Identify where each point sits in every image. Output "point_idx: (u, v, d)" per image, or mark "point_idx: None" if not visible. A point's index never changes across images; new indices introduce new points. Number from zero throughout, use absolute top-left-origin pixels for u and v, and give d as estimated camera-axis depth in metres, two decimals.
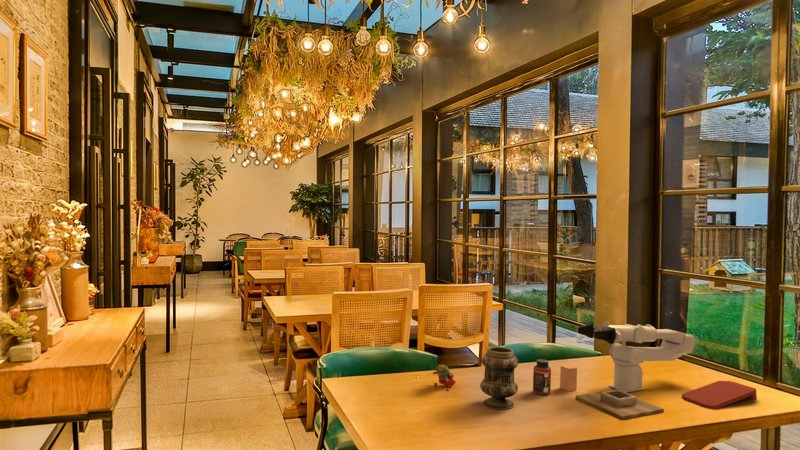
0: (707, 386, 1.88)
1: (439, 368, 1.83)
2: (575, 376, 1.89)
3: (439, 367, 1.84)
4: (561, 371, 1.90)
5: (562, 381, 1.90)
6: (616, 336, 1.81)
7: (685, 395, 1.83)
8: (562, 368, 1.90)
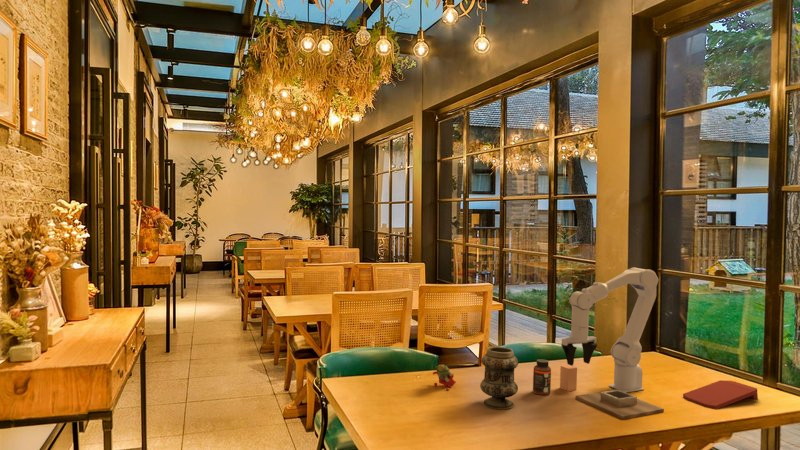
0: (708, 386, 1.88)
1: (439, 368, 1.83)
2: (575, 376, 1.89)
3: (439, 367, 1.84)
4: (561, 371, 1.90)
5: (562, 381, 1.90)
6: (565, 344, 1.86)
7: (686, 395, 1.83)
8: (562, 368, 1.90)
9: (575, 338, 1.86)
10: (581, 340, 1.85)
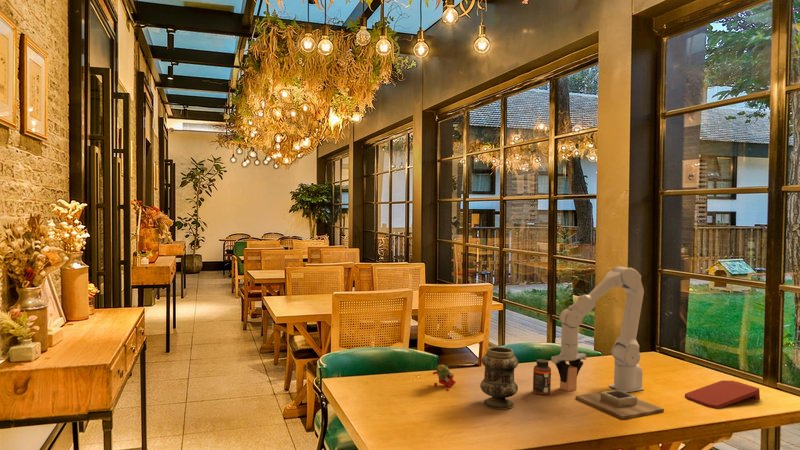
0: (710, 386, 1.88)
1: (439, 368, 1.83)
2: (575, 376, 1.89)
3: (439, 367, 1.84)
4: None
5: None
6: None
7: (688, 395, 1.83)
8: None
9: (565, 356, 1.88)
10: (570, 358, 1.87)
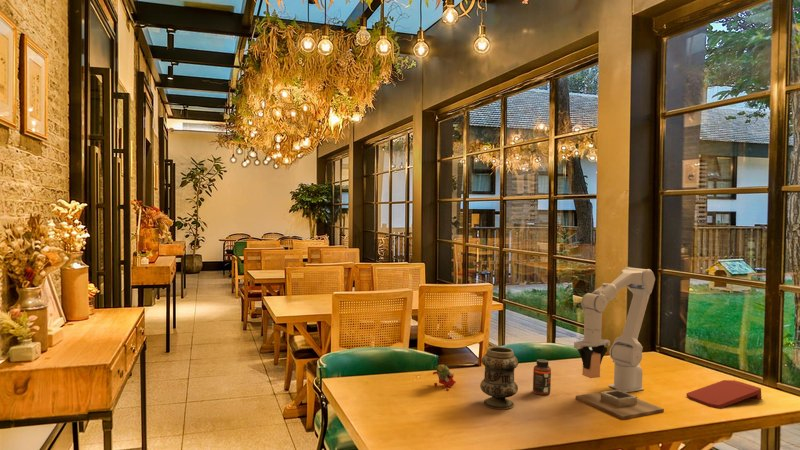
0: (712, 385, 1.89)
1: (439, 368, 1.83)
2: (598, 363, 1.81)
3: (439, 367, 1.84)
4: None
5: (584, 368, 1.83)
6: None
7: (690, 394, 1.84)
8: None
9: (588, 341, 1.80)
10: (594, 343, 1.79)
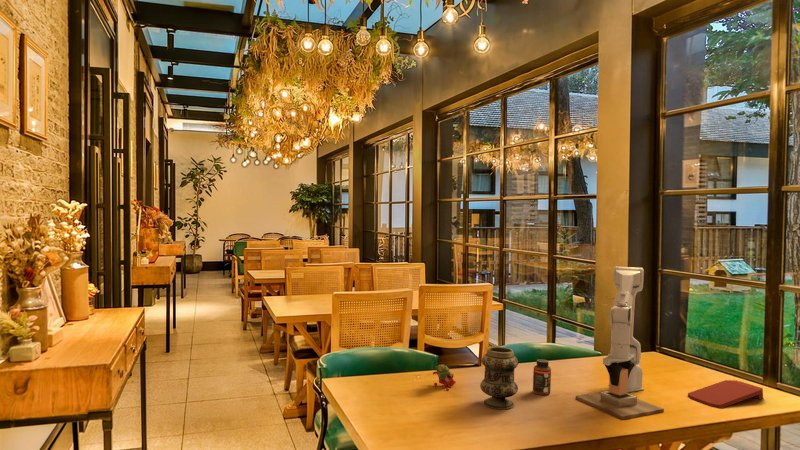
0: (713, 385, 1.89)
1: (439, 368, 1.83)
2: (626, 378, 1.74)
3: (439, 367, 1.84)
4: None
5: None
6: None
7: (691, 394, 1.84)
8: None
9: (617, 357, 1.72)
10: (623, 359, 1.71)
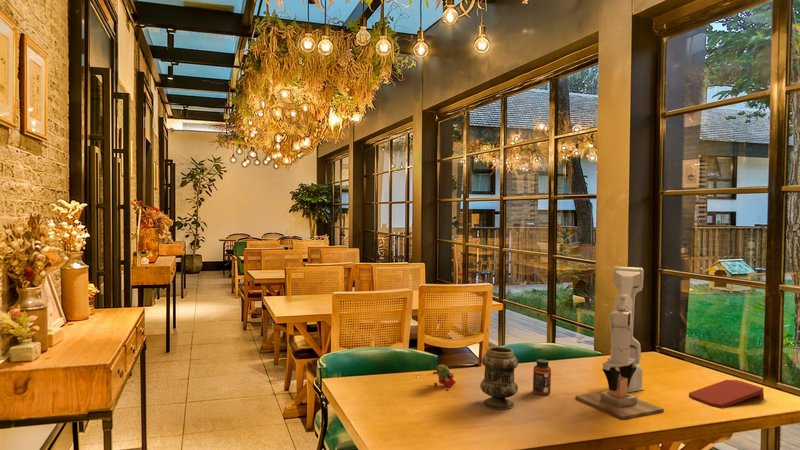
0: (714, 385, 1.89)
1: (439, 368, 1.83)
2: (626, 388, 1.74)
3: (439, 367, 1.84)
4: None
5: (611, 394, 1.74)
6: None
7: (692, 394, 1.84)
8: None
9: (616, 361, 1.72)
10: (623, 364, 1.71)
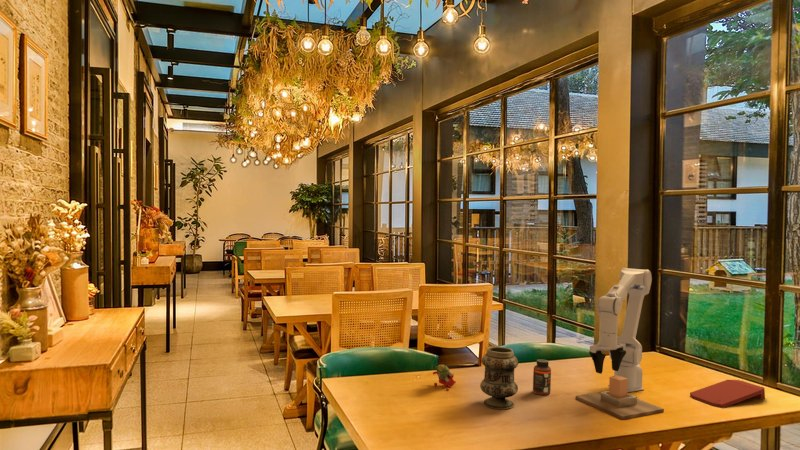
0: (715, 385, 1.89)
1: (439, 368, 1.83)
2: (626, 388, 1.74)
3: (439, 367, 1.84)
4: (610, 383, 1.75)
5: (611, 394, 1.74)
6: (593, 351, 1.77)
7: (693, 394, 1.84)
8: (612, 379, 1.74)
9: (604, 345, 1.78)
10: (610, 347, 1.77)
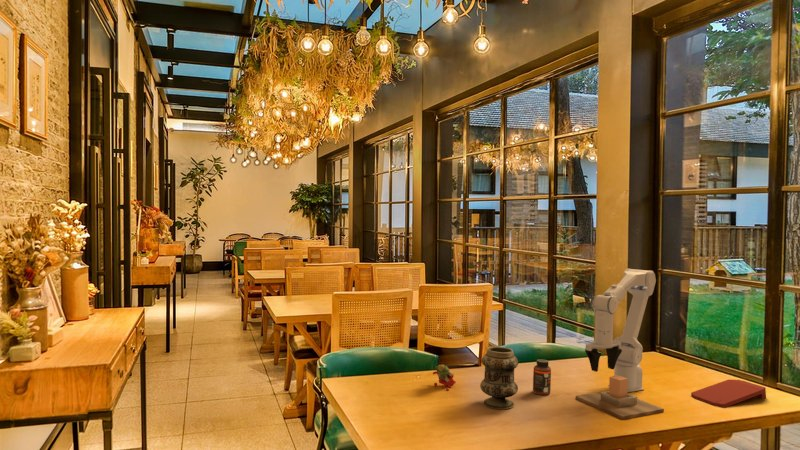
0: (716, 385, 1.90)
1: (439, 368, 1.83)
2: (626, 388, 1.74)
3: (439, 367, 1.84)
4: (610, 383, 1.75)
5: (611, 394, 1.74)
6: None
7: (694, 393, 1.85)
8: (612, 379, 1.74)
9: (599, 343, 1.80)
10: (606, 345, 1.79)
